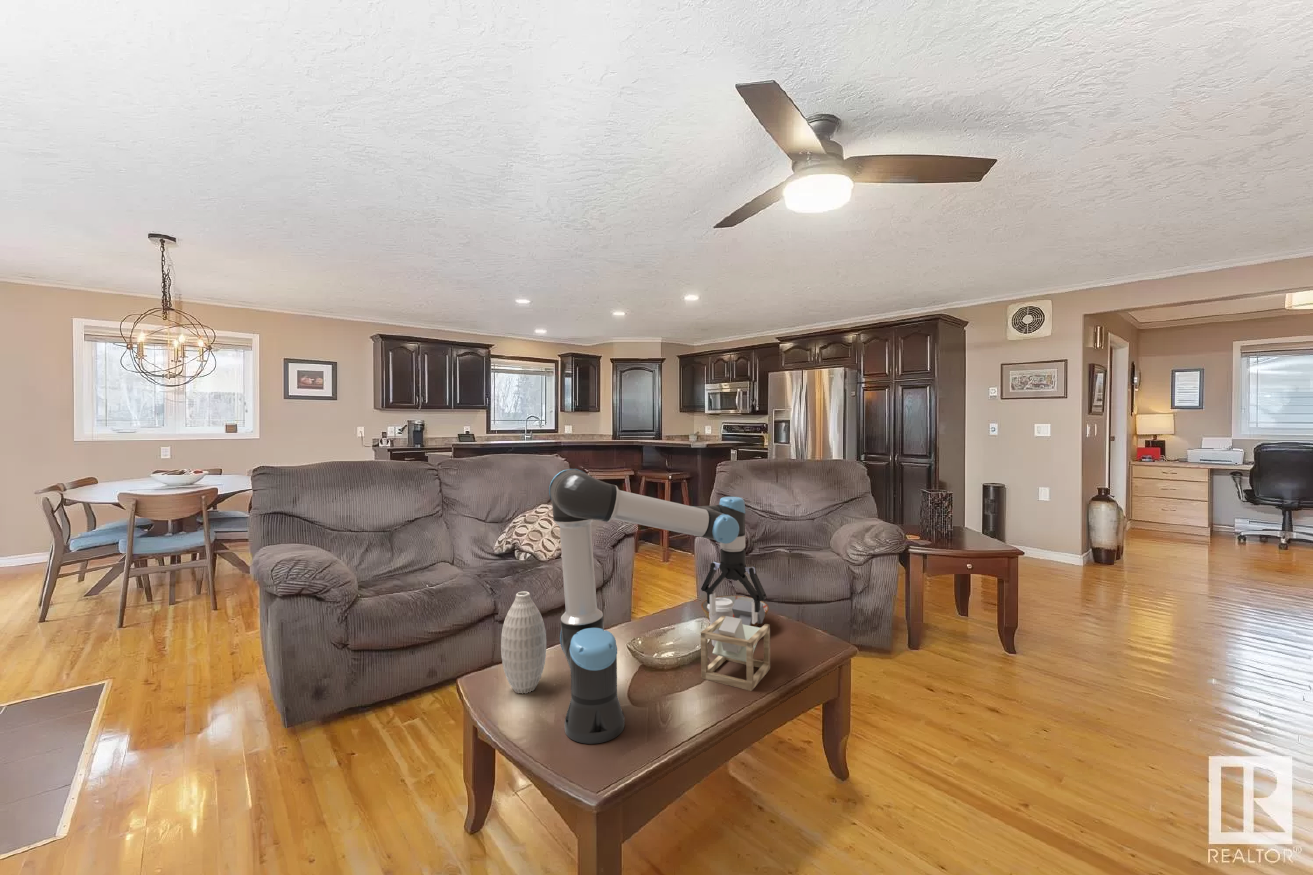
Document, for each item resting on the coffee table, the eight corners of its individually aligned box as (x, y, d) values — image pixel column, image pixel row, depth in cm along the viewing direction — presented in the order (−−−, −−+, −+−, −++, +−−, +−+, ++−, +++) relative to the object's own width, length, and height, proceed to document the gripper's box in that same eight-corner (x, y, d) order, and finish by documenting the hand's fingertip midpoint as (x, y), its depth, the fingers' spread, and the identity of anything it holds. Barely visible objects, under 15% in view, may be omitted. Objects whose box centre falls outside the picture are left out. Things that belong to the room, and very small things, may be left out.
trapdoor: (751, 667, 163) (748, 656, 161) (714, 658, 169) (710, 648, 167) (769, 614, 177) (766, 604, 175) (734, 608, 183) (731, 598, 181)
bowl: (698, 638, 196) (698, 616, 196) (704, 613, 221) (703, 593, 221) (770, 642, 192) (770, 619, 192) (767, 616, 217) (767, 596, 217)
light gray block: (738, 653, 164) (734, 632, 161) (723, 650, 166) (718, 629, 164) (745, 639, 169) (741, 618, 166) (730, 636, 171) (726, 615, 168)
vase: (493, 689, 161) (491, 593, 160) (530, 674, 170) (528, 583, 169) (518, 704, 152) (516, 603, 151) (555, 687, 161) (554, 592, 160)
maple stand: (751, 691, 158) (751, 642, 157) (701, 678, 166) (700, 632, 166) (770, 668, 172) (769, 624, 171) (722, 658, 180) (722, 615, 179)
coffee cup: (739, 642, 192) (739, 599, 192) (727, 652, 184) (727, 607, 184) (714, 636, 198) (714, 595, 197) (702, 646, 190) (702, 602, 189)
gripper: (777, 550, 163) (777, 621, 163) (700, 541, 175) (701, 607, 176) (768, 556, 156) (768, 630, 157) (690, 546, 169) (690, 615, 170)
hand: (733, 618), depth 167 cm, fingers open, 13 cm apart
